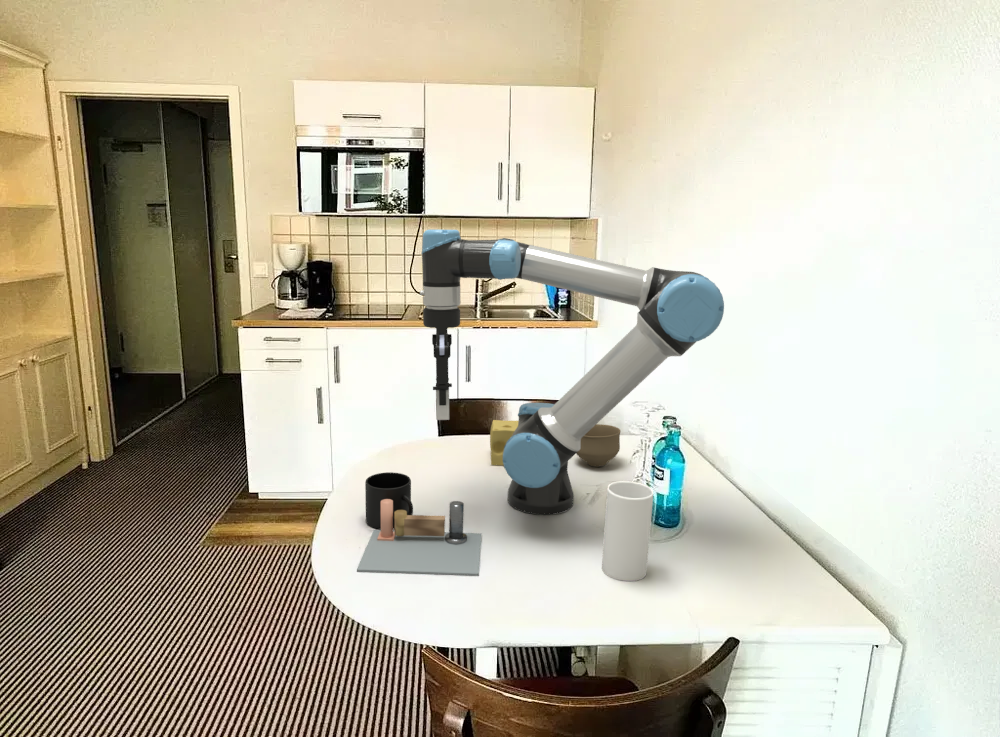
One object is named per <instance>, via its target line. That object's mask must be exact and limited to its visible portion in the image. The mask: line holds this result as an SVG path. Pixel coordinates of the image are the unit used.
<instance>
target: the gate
mask: <svg viewBox="0 0 1000 737" xmlns="http://www.w3.org/2000/svg"><path fill="white" fill-rule="evenodd" d="M445 529H446V516H445V515H420V514H417V515H416V514H412V515H407V511H405V510H397V511H395V529H394V530H395V533H394V534H395V535H396V536H444V534H445V531H446V530H445Z"/></svg>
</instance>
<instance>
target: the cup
mask: <svg viewBox="0 0 1000 737" xmlns="http://www.w3.org/2000/svg"><path fill="white" fill-rule="evenodd" d="M653 500H654V490H653V489H652V487H650V486H649V485H647V484H644V483H640V482H637V481H630V480H619V481H613V482H611V483H609V484H608V485H607V490H606V504H605V518H604V527H603V528H604V530H603V543H602V556H601V557H602V559H601V570H602V572H603V573H604V574H605V575H606V576H608V577H610V578H612V579H614V580H618V581H622V582H636V581H639V580H642V579H644V578H645V576H646V575H647V569H648V558H649V556H648V555H649V546H650V545H649V544H650V537H651V536H650V535H651V534H650V533H651V523H652V514H653V502H654V501H653Z"/></svg>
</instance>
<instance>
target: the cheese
mask: <svg viewBox="0 0 1000 737" xmlns="http://www.w3.org/2000/svg"><path fill="white" fill-rule="evenodd" d="M518 422H519V420H501V419H500V420H499V419H493V420H492V422H491V425H490V426H491V427H490V433H489V434H490V435H489V446H490V447H489V448H490V463H491V464H490V466H499V467H500V466H502V467H504V464H503V452H504V447H505V445H506V442H507V441H508V440H509V439H510V438H511V436H512V434H513V433H514V431H515V430H516V428H517V427H518Z"/></svg>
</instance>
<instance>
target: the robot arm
mask: <svg viewBox="0 0 1000 737" xmlns="http://www.w3.org/2000/svg"><path fill="white" fill-rule="evenodd" d="M421 243H422V244H421V246H422V248H421V261H422V262H421V263H422V264H421V265H422V268H421V269H422V288H423V290H420V291H419V295H420V296H423V297H422V304H423V305H424V306H425V307H424V308H423V309H422V319H423V320H422V324H423V326H424V327H426V328H431V329H432V328H434V329H435V330H436V331H435V333H433V334H432V335H431V340H432V341H431V342H432V343H431V344H432V345H433V358H435V369H436V370H435V375H436V376H435V380H436V381H435V382H436V383H435V386H432V390H433V391H435V419H436V420H437V421H447V420H448V421H449V420H450V388H452V387H453V384H452V383H449V381H450V378H449V358H450V357H451V345H452V344H453V343H452V341H453V339H452V338H453V336H452V334H451V333H449V334H448V329H449V328H451V329H453V328H457V327H459V326H461V309H460V307H459V306H460V305H461V279H492V280H493V279H495V280H496V279H497V280H500V281H502V280H511V279H512V280H514V279H520V280H524V281H529V282H532V283H537V284H541V285H546V286H549V287H555V288H558V289H563V290H567V291H571V292H576V293H579V294H583V295H587V296H588V295H589V296H592V297H596V298H601V299H605V300H608V301H613V302H617V303H621V304H626V305H630V306H633V307H636V308H638V310H639V311H638V312H637V317H636V320H637V321H636V325H635V326H634V327H633V328H632V329H630V331H629V332H627V334H626V335H625V336H624V337H623V338H621V340H619V341H618V342H617V343H616V345H614V346H613V347H612V348H611V349H610V350H609V351H608V352H607V353H606V354H605V355H604V356H602V358H601V359H600V360H599V361H598V362H597V363H596V364H595V365H594V366H592V368H591V369H589V371H587V372H586V373H585V374H584V375H583V377H581V378H580V379H579V380H578V381H577V382H576V383H575V384H574V385H573V386H572V387H571V388H570V389H568V391H566V393H564V395H563V396H562V397H560V399H559V400H558V401H556V402H555V403H548V402H547V403H546V402H527V403H523V404H521V405H520V406H519V409H518V413H517V417H518V421H519V422H518V427H517V428H516V430H515V431H514V433H513V434H512V436H511V438H510V439H509V440H508V441H507V442H506V445H505V447H504V452H503V464H504V466H503V467H504V470H505V472H506V474H507V475H508V476H509V478H511V481H510V484H509V487H508V490H507V502H508V504H509V505H510V506H511V507H512V508H514V509H516V510H519V511H521V512H524V513H527V514H532V515H543V516H546V515H548V516H549V515H557V514H558V515H559V514H561V513H564V512H567V511H568V510H570V509H571V508H572V507H573V506H574V496H575V495H574V490H573V487H572V483H571V479H570V475H569V473H568V471H569V470H568V468H569V467H568V466H569V465H568V463H569V461H570V460H571V459H572V457H574V456H575V455H577V454H576V453H577V452H578V451H579V450H580V449H581V438H582V437H583V436H584V435H585V434H586V433H587V432H588V431H589V430H591V429H592V428H593V427H594V426H595V425H596V424H598V423H599V422H600V421H602V419H603V418H604V417H606V416H607V415H608V414H609V413H610V412H611V411H612V410H613V409H614V408H615V407H616V406H617V405H618V404H620V403H621V402H622V401H623V400H624V399H625V398H626V397H627V396H628V395H629V394H631V392H632V391H633V390H635V389H636V388H637V387H638V386H639V385H640V384H641V383H642V382H644V380H646V378H648V377H649V376H650V375H651V373H653V372H654V371H655V370H656V369H657V368H658V367H659V366H661V364H663V362H665V361H666V360H667V359H668V358H669V357H682V356H683V355H684V354H685V353H686V352H687V351H688V350H689V349H691V348H692V346H694V345H695V344H696V343H697V342H700V341H702V340H705V339H706V338H709V336H711V335H712V334H713V333H714V332H716V330H717V329H718V327H720V324H721V322H722V320H723V316H724V313H725V312H724V311H725V301H724V297H723V294H722V293H721V290H720V288H719V287H718V286H717V285H716V283H715V282H713V281H712V280H710V279H709V278H708V277H706V276H704V275H703V274H701V273H698V272H695V271H683V270H682V271H680V270H671V269H665V268H664V269H663V268H660V267H659V268H657V267H654V266H653V267H650V268H648V269H646V270H645V269H640V268H636V267H632V266H626V265H623V264H619V263H618V264H617V263H614V262H609V261H606V260H605V261H604V260H600V259H595V258H592V257H586V256H582V255H578V254H574V253H568V252H564V251H560V250H555V249H551V248H546V247H542V246H538V245H534V244H527V243H524V242H521V241H520V242H519V241H516V240H514V239H512V238H506V237H502V238H497V239H474V240H473V239H464V238H463V239H462V238H461V232H460V230H458V229H438V228H437V229H426V230H425V231H424V232H423V234H422V242H421Z"/></svg>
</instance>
